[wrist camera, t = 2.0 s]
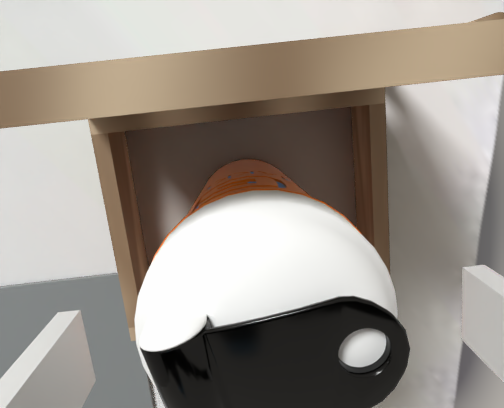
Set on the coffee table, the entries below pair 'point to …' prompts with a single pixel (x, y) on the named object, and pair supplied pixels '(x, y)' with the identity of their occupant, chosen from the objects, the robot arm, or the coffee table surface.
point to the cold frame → (247, 106)
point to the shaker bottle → (268, 302)
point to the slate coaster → (96, 328)
